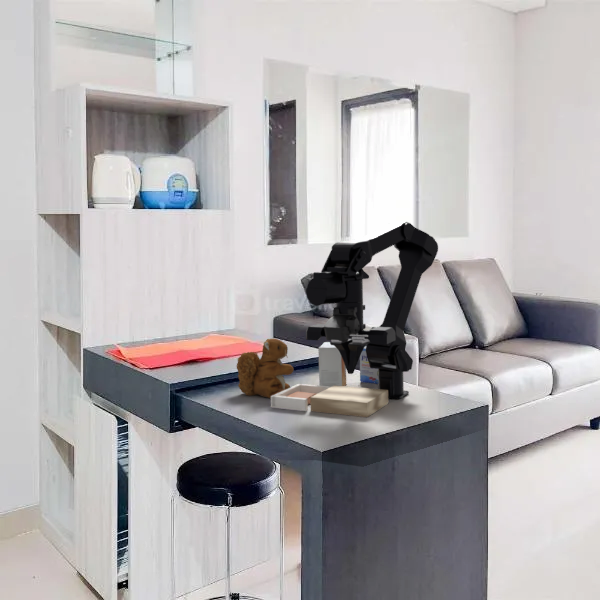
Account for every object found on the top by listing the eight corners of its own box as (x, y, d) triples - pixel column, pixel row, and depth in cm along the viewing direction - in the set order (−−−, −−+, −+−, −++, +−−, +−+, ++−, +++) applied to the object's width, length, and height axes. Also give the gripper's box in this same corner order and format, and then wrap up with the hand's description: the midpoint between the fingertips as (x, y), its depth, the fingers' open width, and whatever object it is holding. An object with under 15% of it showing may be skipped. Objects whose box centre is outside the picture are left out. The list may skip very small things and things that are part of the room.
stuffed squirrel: (291, 399, 166) (289, 342, 165) (230, 399, 168) (228, 342, 167) (297, 389, 176) (295, 335, 175) (240, 389, 178) (238, 335, 177)
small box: (342, 391, 172) (341, 347, 171) (319, 390, 173) (317, 347, 172) (347, 383, 180) (346, 341, 179) (324, 383, 181) (323, 341, 180)
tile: (316, 393, 164) (316, 402, 164) (296, 391, 166) (297, 399, 167) (305, 398, 160) (305, 407, 160) (285, 396, 162) (286, 405, 162)
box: (298, 394, 170) (298, 383, 170) (331, 397, 167) (331, 386, 166) (271, 407, 159) (270, 396, 159) (305, 411, 155) (305, 399, 155)
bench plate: (334, 398, 166) (334, 385, 165) (388, 403, 160) (388, 390, 159) (310, 411, 155) (310, 397, 155) (367, 417, 149) (367, 402, 149)
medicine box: (359, 382, 181) (358, 348, 180) (368, 378, 185) (367, 345, 184) (388, 385, 177) (387, 350, 176) (396, 381, 181) (395, 347, 180)
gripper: (292, 304, 152) (294, 377, 153) (376, 307, 143) (377, 384, 145) (316, 298, 162) (318, 367, 163) (396, 301, 153) (396, 374, 155)
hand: (350, 373), depth 156 cm, fingers closed
